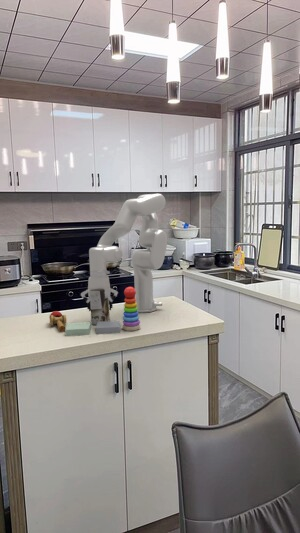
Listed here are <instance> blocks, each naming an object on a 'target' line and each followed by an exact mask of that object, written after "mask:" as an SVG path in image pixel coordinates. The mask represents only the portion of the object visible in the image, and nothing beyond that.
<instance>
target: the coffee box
mask: <svg viewBox="0 0 300 533" xmlns="http://www.w3.org/2000/svg"><path fill="white" fill-rule="evenodd" d="M109 301H110V300H109V299H108V298H105V290H104V289H100V290H90V307H91V311H90V322H91V325H95V326H97V322H102V321H111V320H110V319H111V317H110V310H109Z"/></svg>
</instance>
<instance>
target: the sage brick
mask: <svg viewBox="0 0 300 533" xmlns="http://www.w3.org/2000/svg"><path fill="white" fill-rule="evenodd" d="M91 325H92V324H91V321H87V322H85V321H84V322H68V323H67V325H66V326H65V327H66V329H65V331H64V334H65V337H67V336H68V337H69V336H70V337H71V336H84V335H85V336H87V335H88V336H89V335H91V334H90V333H91V330H92V326H91Z"/></svg>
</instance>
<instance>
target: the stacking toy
mask: <svg viewBox="0 0 300 533" xmlns="http://www.w3.org/2000/svg"><path fill="white" fill-rule="evenodd" d="M123 294H124V296H125V298H124V304H123V306H124V307H123V317H122V320H123V321H122V329H123V330H124V331H128V332H133V331H137V330H140V329H141V324H140V323H141V320H140V316H139V312H138V311H137V309H138V308H137V307H136V306H137V303H136V298H135V294H136V291H135V287H133V286H128V287H125V289H124V291H123Z"/></svg>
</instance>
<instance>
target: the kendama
mask: <svg viewBox="0 0 300 533" xmlns="http://www.w3.org/2000/svg"><path fill="white" fill-rule="evenodd" d="M54 324H55V325H57V328H58V331H59V332H61V333H65V329H66V327H67V326H65V325H66V324H67V315H66V314H63V313H61V312H60V311H58V310H55V311H52V312H51V313H50V314H49V325H50V326H53V325H54Z"/></svg>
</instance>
